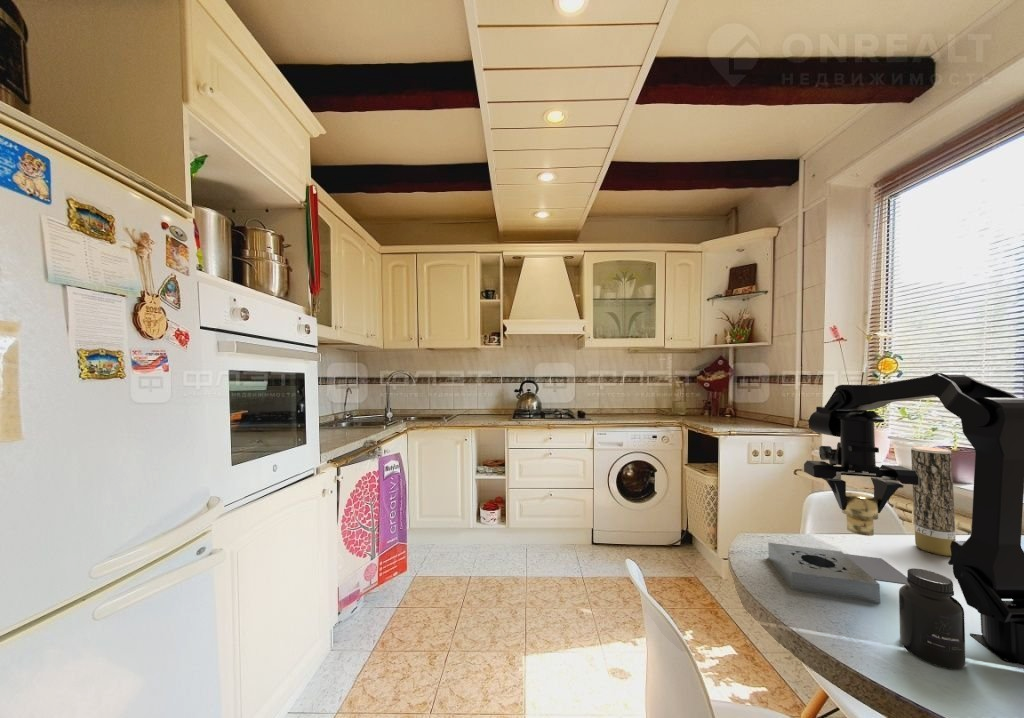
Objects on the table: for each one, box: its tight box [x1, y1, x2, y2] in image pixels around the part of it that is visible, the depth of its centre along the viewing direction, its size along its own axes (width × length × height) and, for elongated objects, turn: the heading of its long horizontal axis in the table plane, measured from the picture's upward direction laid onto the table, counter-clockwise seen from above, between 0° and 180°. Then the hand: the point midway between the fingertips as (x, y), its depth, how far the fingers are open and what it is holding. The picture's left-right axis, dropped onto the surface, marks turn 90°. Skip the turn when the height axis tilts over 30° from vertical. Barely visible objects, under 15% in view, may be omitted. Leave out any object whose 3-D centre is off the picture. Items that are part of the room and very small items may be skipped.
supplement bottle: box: [898, 567, 966, 671], centre depth 59 cm, size 7×7×12 cm
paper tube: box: [910, 446, 957, 557], centre depth 94 cm, size 7×7×25 cm
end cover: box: [841, 491, 879, 537], centre depth 84 cm, size 6×6×8 cm
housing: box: [767, 542, 881, 605], centre depth 80 cm, size 14×14×4 cm
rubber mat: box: [844, 553, 909, 585], centre depth 84 cm, size 12×10×1 cm
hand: (859, 511), depth 84 cm, fingers closed on end cover, 6 cm apart
